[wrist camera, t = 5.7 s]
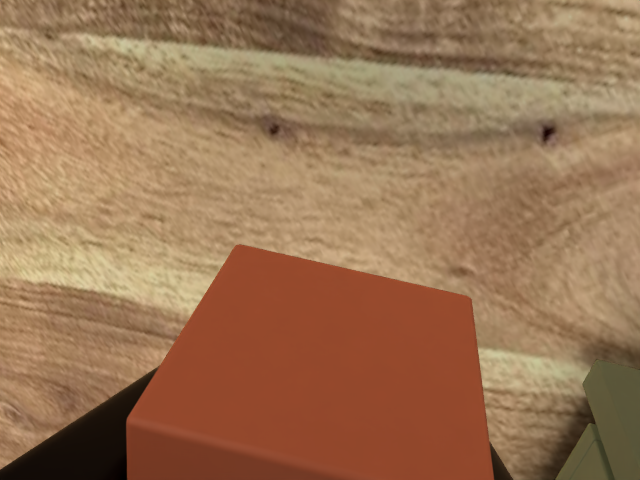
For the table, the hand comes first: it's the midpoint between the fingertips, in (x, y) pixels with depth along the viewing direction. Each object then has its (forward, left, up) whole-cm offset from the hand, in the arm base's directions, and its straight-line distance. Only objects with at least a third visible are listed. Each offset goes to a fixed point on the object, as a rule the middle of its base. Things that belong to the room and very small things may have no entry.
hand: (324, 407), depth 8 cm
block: (0, 0, -1) cm, 1 cm away
